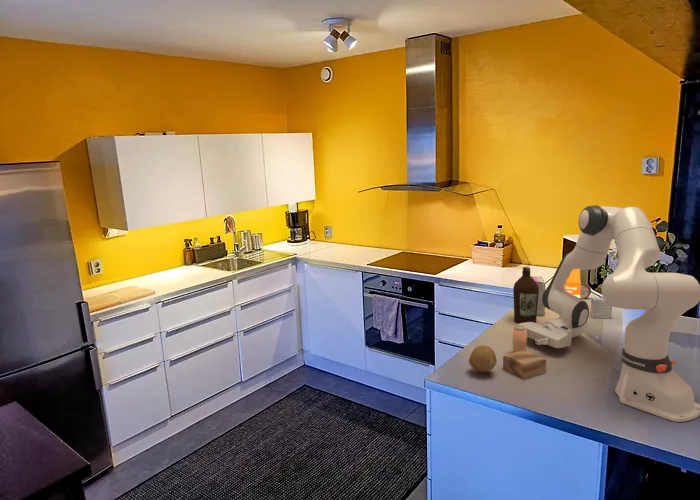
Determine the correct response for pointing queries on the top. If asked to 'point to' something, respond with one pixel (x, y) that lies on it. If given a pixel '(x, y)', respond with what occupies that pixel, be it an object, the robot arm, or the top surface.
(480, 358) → the natural sponge
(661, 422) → the top surface
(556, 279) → the robot arm
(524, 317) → the olive oil
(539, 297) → the candy bar box
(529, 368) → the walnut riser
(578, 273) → the orange juice
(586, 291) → the tin
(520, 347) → the terracotta jar
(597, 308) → the medicine box
